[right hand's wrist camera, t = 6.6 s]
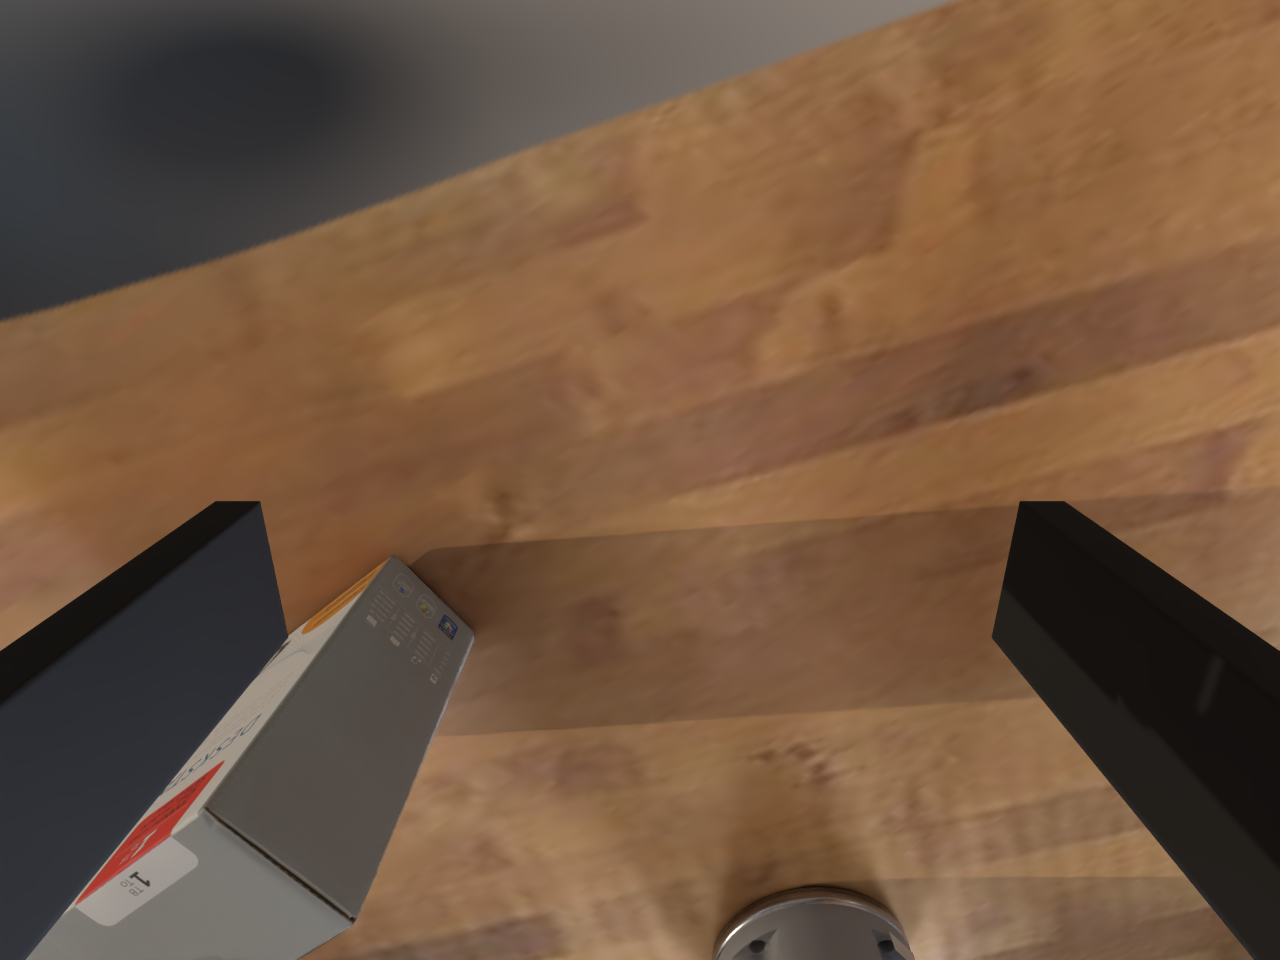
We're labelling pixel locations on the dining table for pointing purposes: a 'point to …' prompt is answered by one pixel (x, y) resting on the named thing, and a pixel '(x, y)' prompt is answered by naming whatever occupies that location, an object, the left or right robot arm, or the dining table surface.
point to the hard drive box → (283, 792)
